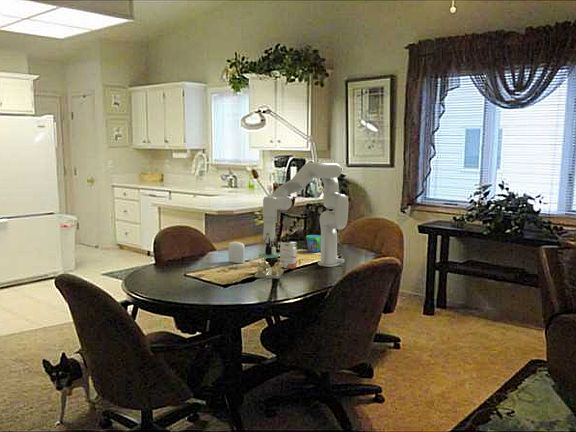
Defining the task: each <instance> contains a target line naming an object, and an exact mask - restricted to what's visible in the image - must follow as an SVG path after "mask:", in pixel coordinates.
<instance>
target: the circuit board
mask: <svg viewBox="0 0 576 432" xmlns="http://www.w3.org/2000/svg"><path fill="white" fill-rule="evenodd" d="M265 251H266V245H265V246H263V247H262V251H261V252H260V253H259V254H258V257H259V258H263V259H273V258H279V257H280V252H277V250H276V246H273V247H272V254H265Z"/></svg>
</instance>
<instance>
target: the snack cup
mask: <svg viewBox="0 0 576 432" xmlns="http://www.w3.org/2000/svg"><path fill="white" fill-rule="evenodd" d="M305 239H306V243H307V245H306V246H307V250H308V252H310V253H319V252H321V234H320V235H319V234H308V235H306V236H305Z"/></svg>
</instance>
